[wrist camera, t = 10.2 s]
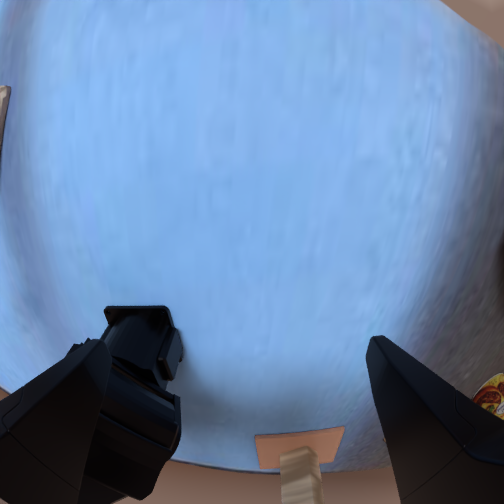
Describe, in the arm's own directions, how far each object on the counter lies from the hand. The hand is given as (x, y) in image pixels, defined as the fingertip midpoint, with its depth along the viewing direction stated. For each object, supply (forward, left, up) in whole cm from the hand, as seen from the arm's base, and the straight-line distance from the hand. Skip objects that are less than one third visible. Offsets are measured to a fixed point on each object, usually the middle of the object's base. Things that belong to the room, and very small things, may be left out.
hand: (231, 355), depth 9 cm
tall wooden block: (+5, -35, -12) cm, 37 cm away
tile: (+5, -35, -13) cm, 37 cm away
